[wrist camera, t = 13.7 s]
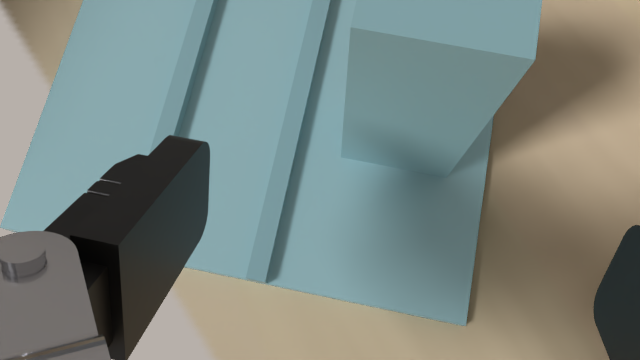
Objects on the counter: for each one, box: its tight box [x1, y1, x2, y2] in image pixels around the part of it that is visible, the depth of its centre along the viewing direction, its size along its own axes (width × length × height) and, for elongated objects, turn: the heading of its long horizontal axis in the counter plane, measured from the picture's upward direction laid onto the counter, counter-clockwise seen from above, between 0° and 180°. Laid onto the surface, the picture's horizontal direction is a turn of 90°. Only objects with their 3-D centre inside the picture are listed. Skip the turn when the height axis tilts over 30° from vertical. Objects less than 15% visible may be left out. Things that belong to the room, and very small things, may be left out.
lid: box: [0, 0, 542, 326], centre depth 15 cm, size 15×11×9 cm
